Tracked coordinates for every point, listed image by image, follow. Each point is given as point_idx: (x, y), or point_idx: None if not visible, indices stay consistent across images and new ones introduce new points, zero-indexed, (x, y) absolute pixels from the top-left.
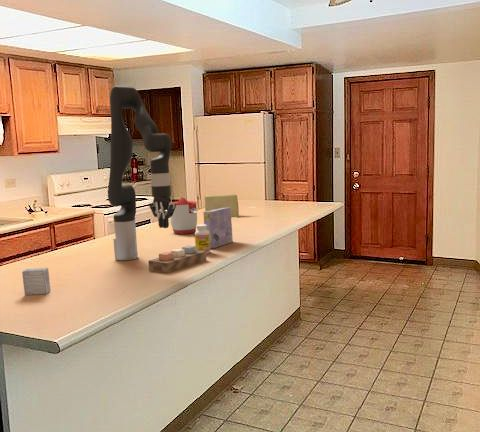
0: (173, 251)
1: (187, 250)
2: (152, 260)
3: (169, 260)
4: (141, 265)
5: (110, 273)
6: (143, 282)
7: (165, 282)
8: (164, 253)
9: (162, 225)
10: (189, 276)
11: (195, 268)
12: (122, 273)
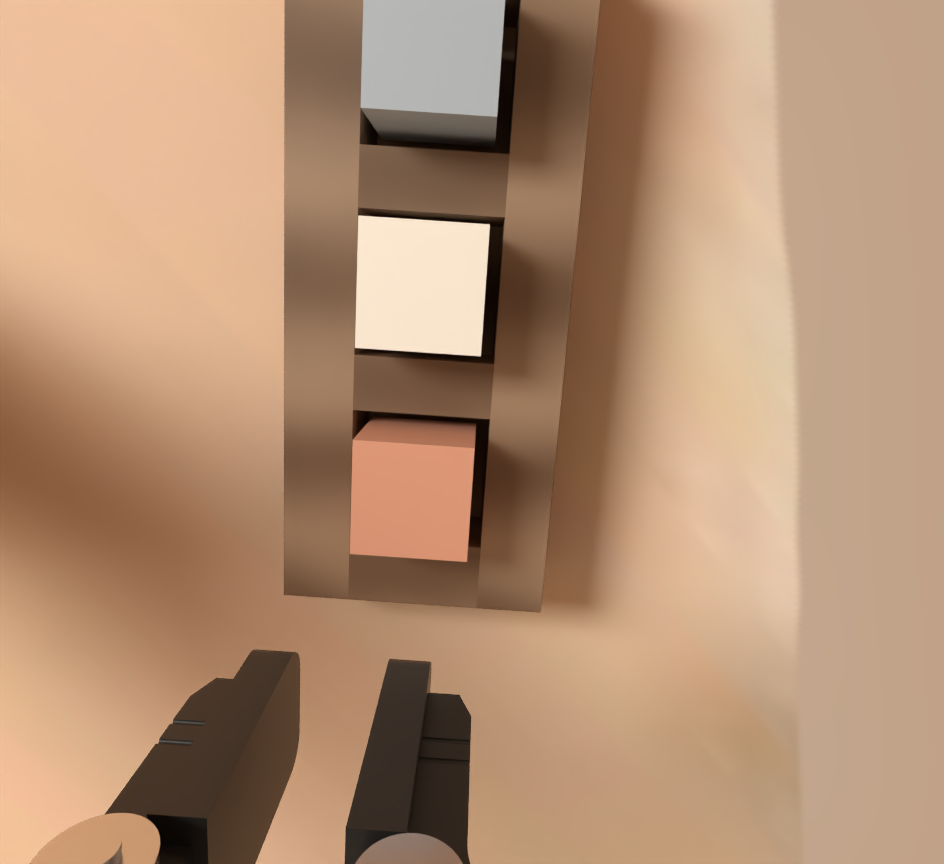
0: (405, 350)
1: (461, 123)
2: (319, 574)
3: (492, 509)
4: (95, 435)
5: (87, 741)
6: (543, 833)
7: (705, 778)
8: (402, 512)
9: (284, 728)
10: (790, 579)
11: (681, 328)
12: (179, 707)
